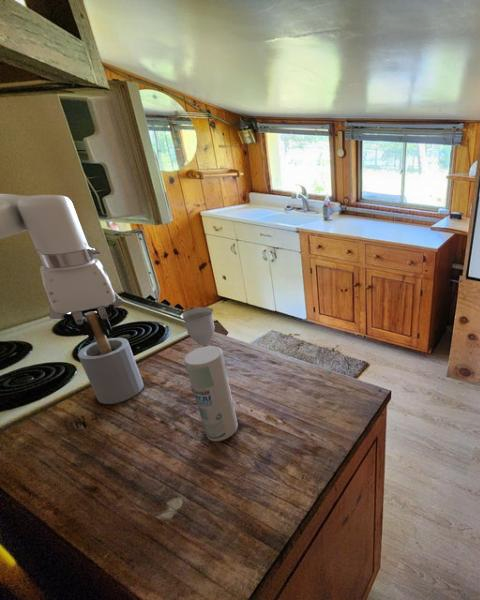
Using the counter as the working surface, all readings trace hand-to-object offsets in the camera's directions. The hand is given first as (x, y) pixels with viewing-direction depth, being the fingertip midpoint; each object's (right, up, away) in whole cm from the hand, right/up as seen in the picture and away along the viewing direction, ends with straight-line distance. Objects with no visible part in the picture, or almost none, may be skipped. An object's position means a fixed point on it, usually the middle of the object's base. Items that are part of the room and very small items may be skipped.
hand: (99, 334), depth 74 cm
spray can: (+30, -21, -3) cm, 37 cm away
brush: (0, -11, +5) cm, 12 cm away
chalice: (+17, -12, +16) cm, 26 cm away
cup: (-1, -15, +7) cm, 17 cm away
